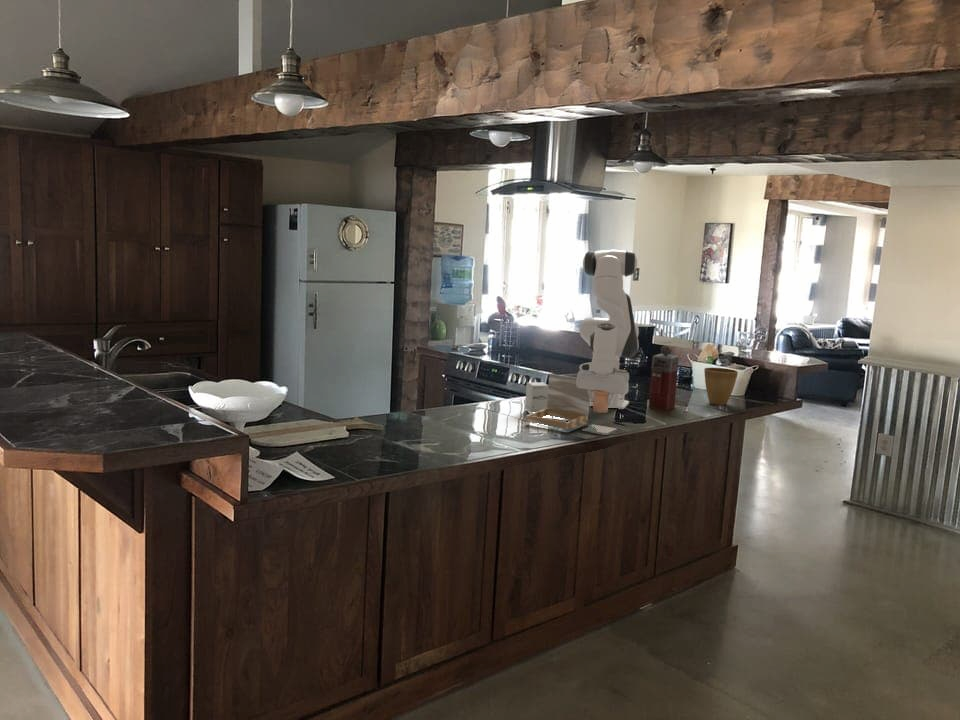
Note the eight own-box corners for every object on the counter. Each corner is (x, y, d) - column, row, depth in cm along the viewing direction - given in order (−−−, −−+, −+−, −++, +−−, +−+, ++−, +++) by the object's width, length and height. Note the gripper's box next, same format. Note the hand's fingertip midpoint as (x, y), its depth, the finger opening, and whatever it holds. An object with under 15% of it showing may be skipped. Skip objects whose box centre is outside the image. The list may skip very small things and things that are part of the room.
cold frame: (547, 417, 317) (550, 373, 314) (588, 424, 308) (591, 379, 305) (525, 425, 301) (528, 379, 298) (567, 433, 292) (570, 386, 289)
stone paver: (592, 426, 304) (592, 424, 304) (616, 431, 299) (616, 428, 299) (581, 431, 295) (581, 429, 295) (606, 435, 290) (606, 433, 290)
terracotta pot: (596, 408, 300) (597, 388, 299) (611, 411, 297) (612, 390, 295) (589, 411, 295) (590, 390, 293) (604, 413, 291) (606, 392, 290)
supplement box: (530, 415, 319) (532, 385, 317) (524, 411, 326) (526, 381, 324) (547, 415, 321) (549, 385, 319) (541, 411, 328) (542, 381, 326)
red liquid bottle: (646, 408, 343) (651, 345, 339) (655, 404, 353) (660, 343, 348) (665, 411, 339) (670, 347, 334) (674, 407, 348) (679, 345, 344)
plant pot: (739, 407, 353) (742, 373, 350) (706, 406, 353) (709, 371, 350) (729, 401, 367) (732, 367, 365) (697, 399, 368) (700, 366, 365)
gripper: (632, 369, 290) (629, 405, 293) (582, 363, 301) (580, 398, 303) (626, 371, 285) (623, 408, 287) (575, 364, 296) (573, 400, 298)
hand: (600, 403), depth 295 cm, fingers closed on terracotta pot, 6 cm apart
